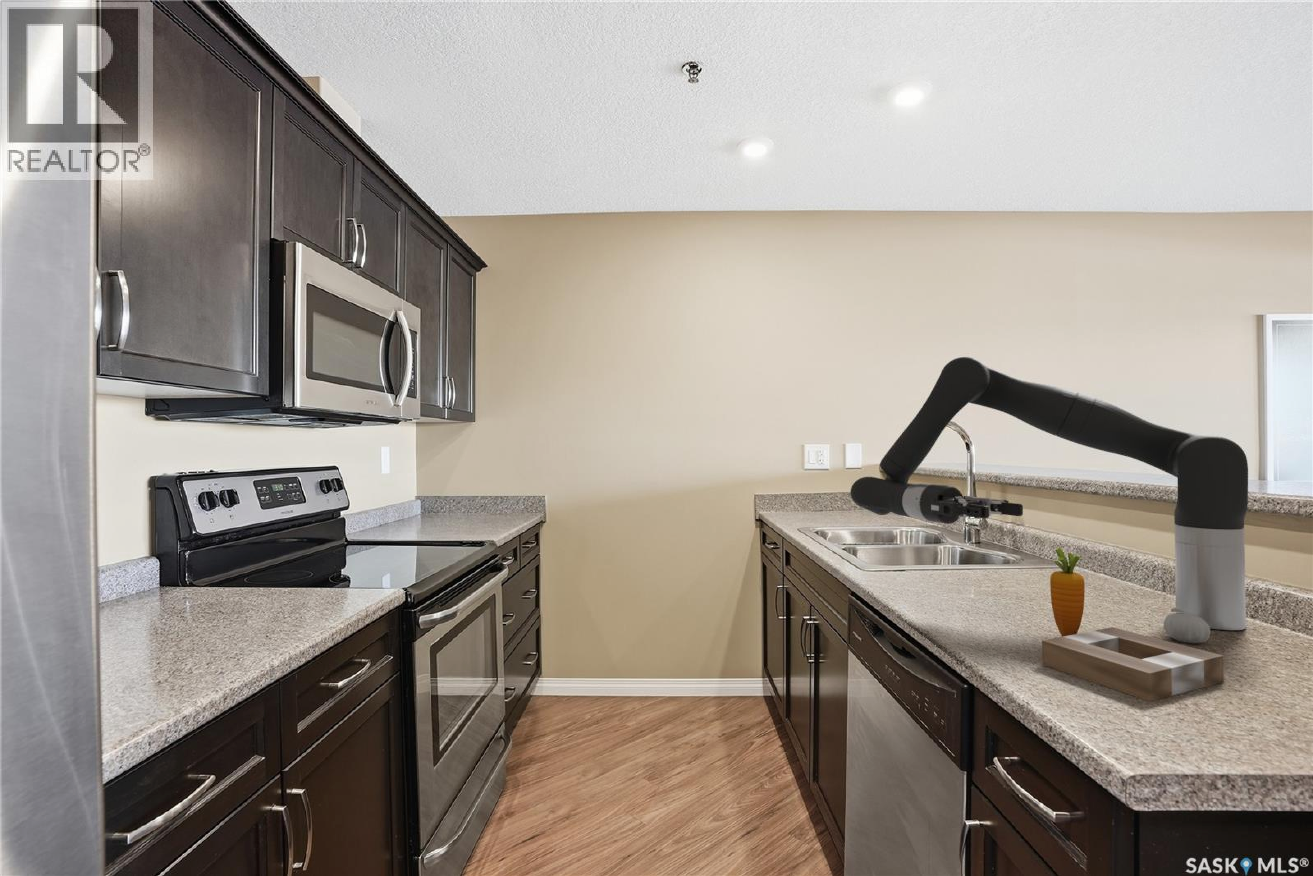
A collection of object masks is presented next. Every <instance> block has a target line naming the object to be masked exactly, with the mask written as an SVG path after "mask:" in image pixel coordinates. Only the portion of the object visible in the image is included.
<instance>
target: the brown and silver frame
mask: <svg viewBox="0 0 1313 876" xmlns="http://www.w3.org/2000/svg"><path fill="white" fill-rule="evenodd" d="M1041 650H1042V651H1041V657H1042V658H1041V659H1042V660H1041V661H1042V663H1041V664H1042V665H1043V666H1046V667H1049V668H1051V669H1055V670H1058V671H1060V672H1063V673H1066V674H1068V675H1072V676H1074V677H1078V678H1081V679H1084V680H1086V681H1090V682H1092V683H1095V684H1098V685H1101V686H1104V687H1107V688H1110V689H1113V690H1116V691H1119V692H1121V693H1124V694H1127V695H1129V696H1133V697H1136V698H1138V699H1141V700H1145V701H1147V702H1154V701H1156V700H1160V699H1164V698H1168V697H1171V696H1172V697H1173V696H1176V695H1179V694H1183V693H1186V692H1190V691H1193V690H1198V689H1201V688H1205V687H1206V688H1207V687H1209V686H1212V685H1213V686H1214V685H1217V684H1220V683H1224V681H1225V680H1224V679H1225V677H1224V676H1225V674H1224V670H1225V669H1224V655H1223V654H1219V653H1214V652H1210V651H1207V650H1203V649H1199V648H1195V647H1191V646H1188V645H1187V646H1186V645H1183V644H1179V643H1176V642H1175V643H1174V642H1172V641H1168V640H1164V639H1160V638H1155V637H1151V636H1148V635H1145V634H1141V633H1136V632H1133V631H1130V630H1129V631H1128V630H1124V629H1122V628H1118V627H1113V626H1112V627H1107V628H1102V629H1101V628H1100V629H1096V630H1091V631H1085V632H1080V633H1077V634H1074V635H1069V636H1063V637H1062V636H1060V637H1053V638H1047V639H1043V640H1041Z"/></svg>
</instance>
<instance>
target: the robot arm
mask: <svg viewBox="0 0 1313 876" xmlns="http://www.w3.org/2000/svg"><path fill="white" fill-rule="evenodd" d="M968 404H973V405H978V406H981V407H985V408H989V409H993V410H995V411H996V410H997V411H999V412H1003V413H1004V414H1008V415H1010V416H1012V417H1014V418H1016V419H1018V420H1019V421H1022V422H1024V423H1026V424H1027V425H1029V426H1032V427H1034V428H1036V429H1037V430H1041V431H1042V432H1045V433H1048V434H1050V435H1053V436H1056V437H1058V438H1060V439H1063V440H1066V441H1069V442H1072V443H1075V444H1077V445H1081V446H1084V447H1088V448H1091V449H1095V450H1099V451H1102V452H1107V453H1110V454H1115V455H1119V456H1125V457H1127V458H1131V459H1134V460H1136V461H1139V462H1142V463H1144V464H1147V465H1149V466H1151V467H1153V468H1155V469H1156V468H1157V469H1158V470H1160V471H1162V472H1165V473H1167V474H1170V475H1171V476H1174V477H1176V479H1177V501H1176V506H1175V509H1174V512H1173V514H1174V516H1173V517H1174V563H1175V564H1174V566H1175V568H1174V569H1175V574H1174V575H1175V576H1174V577H1175V608H1181V609H1183V610H1185V611H1186V613H1187V614H1192V615H1195V616H1198V617H1200V618H1202V619H1203V620H1204V621H1205V622H1206V623H1207V624H1208V625H1209V627H1210V629H1213V630H1223V631H1242V630H1245V629H1247V625H1246V624H1247V620H1246V619H1247V609H1246V607H1247V603H1246V560H1245V559H1246V558H1245V557H1246V556H1245V555H1246V553H1245V552H1246V550H1245V547H1246V546H1245V519H1246V517H1245V516H1246V515H1247V511H1248V505H1249V504H1248V503H1249V464H1248V457H1247V454H1246V453H1245V451H1244V450H1243V448H1242V447H1241V446H1240V445H1239V444H1237V443H1236V442H1235V441H1233V440H1231V439H1229V438H1227V437H1223V436H1219V435H1201V434H1195V433H1191V432H1186V431H1181V430H1177V429H1173V428H1170V427H1166V426H1162V425H1159V424H1156V423H1153V422H1150V421H1147V420H1145V419H1143V418H1141V417H1139V416H1137V415H1135V414H1133V413H1132V412H1129V411H1127V410H1125V409H1123V408H1121V407H1118V406H1116V405H1114V404H1111V403H1109V402H1107V401H1104V400H1101V399H1098V398H1096V397H1093V396H1089V395H1087V394H1083V393H1080V392H1077V391H1074V390H1071V389H1066V388H1062V387H1057V386H1053V385H1049V384H1048V385H1047V384H1042V383H1037V382H1030V381H1026V380H1022V379H1018V378H1016V377H1013V376H1010V375H1007V374H1006V373H1003V372H1000V371H998V370H995V369H994V368H992V367H990V366H987V365H985V364H984V363H982V362H981V361H980V360H978V359H976V358H974V357H970V356H962V357H957V358H954V359H952V360H950V361H948V362H947V364H945V365H944V366H943V368H942V370H941V372H940V375H939V376H938V378H937V380H936V382H935V383H934V386H933V388H932V390H931V392H930V393H929V395H928V397H927V398H926V400H925V402H924V403H923V405H922V407H921V408H920V409H919V411H918V412H917V414H916V415H915V416H914V418H912V420H911V422H910V423H909V424H908V425H907V426H906V427H905V428H904V430H903V431H902V432H901V434H900V436H899V437H897V439H896V440H895V442H893V444H892V445H891V447H890V448H889V449H888V451H887V452H886V453H885V454H884V456H883V457H882V459H881V461H880V463H879V466H880V470H882V472H883V473H884V474H885V475H886V477H885V479H884V478H879V477H876V476H863V477H860V478H859V479H857V480H856V481H855V482H854V483H852V485H851V487H850V497H851V500H852V502H854V504H855V505H856V506H858V507H861V508H862V509H865V510H867V511H869V512H871V513H873V514H876V515H878V516H886V515H888V514H891V513H892V514H895V515H897V516H901V517H902V516H903V517H909V518H914V519H916V520H920V521H925V522H931V523H941V524H946V525H950V524H954V523H956V522H957V521H959V520H960V518H961V519H966V518H968V517H969V518H978V519H989V518H990V516H991V515H1000V516H1003V515H1006V516H1014V517H1022V516H1023V514H1024V506H1023V504H1022V503H1015V502H1009V500H1007V499H997V498H995V499H994V498H989V497H978V496H977V497H975V496H973V495H963V494H962V493H961V490H959V489H958V488H957V487H956V486H953V485H948V484H947V485H945V484H934V483H932V484H931V483H909V480H910V478H911V476H912V475H913V474H914V473H915V471H917V469H918V468H919V466H920V465H921V464H922V462H923V461H924V460H925V459H926V457H927V456H928V454H929V453H930V452H931V450H932V449H933V447H934V445H935V444H936V442H937V440H938V439H939V437H940V436H941V434H942V433H943V432H944V430H945V428H946V427H947V425H949V424H950V422H951V421H952V419H953V418H955V416H957V414H958V413H959V412H960V411H961V410H962V409H963V408H964V407H965V406H967V405H968ZM1175 613H1182V612H1175Z"/></svg>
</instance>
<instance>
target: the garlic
mask: <svg viewBox="0 0 1313 876" xmlns="http://www.w3.org/2000/svg"><path fill="white" fill-rule="evenodd" d="M1170 612H1172V613H1169V614H1167V615H1166V617H1165V618H1164V621H1163V629H1164V630H1165V633H1166V634H1167V635H1169V637H1171V638H1173V640H1175V641H1178V642H1180V643H1181V642H1182V643H1185V644H1202V643H1205V642H1207V641H1208V640H1209V639H1210V636H1211V628H1210V627H1209V625H1208V624H1207V623H1206V622H1205V621H1204V620H1203V619H1202V618H1200V617H1198V616H1195V615H1192V614H1187V613H1186V611H1185V610H1183V609H1181V608H1176V607H1175V608H1170ZM1176 612H1182V613H1176Z"/></svg>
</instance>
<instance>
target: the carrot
mask: <svg viewBox="0 0 1313 876" xmlns="http://www.w3.org/2000/svg"><path fill="white" fill-rule="evenodd" d="M1055 553H1056V554H1057V556H1058V558H1057V560H1054V561H1053V562H1054V563H1055V565H1057V566H1058V568H1060V569H1061V570H1060V571H1059V570H1058V571H1054V572H1052V573H1051V575H1050V578H1049V580H1050V583H1049V585H1050V601H1051V608H1052V613H1053V617H1054V621H1055V624H1056V627H1057V630H1058V632H1059V634H1060V635H1061V637H1063V636H1069V635H1074V634H1078V631H1079V629H1080V628H1081V623H1082V620H1083V614H1084V609H1085V588H1086V587H1085V585H1086V584H1085V579H1084V576H1083V575H1082V574H1081V573H1078V572H1074V569H1075V568H1076V565H1077V564H1078V562H1079V560H1080V559H1081V556H1080V555H1079V554H1076V555H1075V556H1074V553H1071V552H1067V557H1068V559H1067V557H1066V554H1065V553H1064V552H1063V549H1062V548H1056V549H1055Z"/></svg>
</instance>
